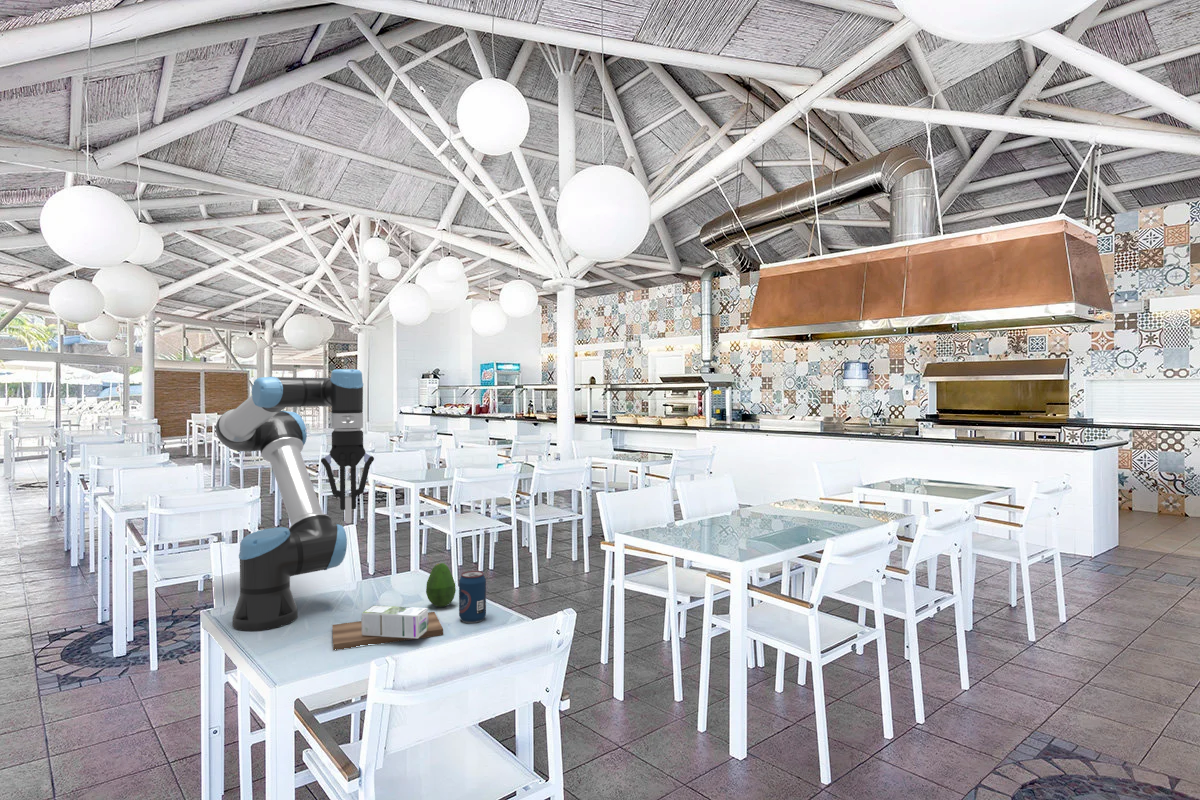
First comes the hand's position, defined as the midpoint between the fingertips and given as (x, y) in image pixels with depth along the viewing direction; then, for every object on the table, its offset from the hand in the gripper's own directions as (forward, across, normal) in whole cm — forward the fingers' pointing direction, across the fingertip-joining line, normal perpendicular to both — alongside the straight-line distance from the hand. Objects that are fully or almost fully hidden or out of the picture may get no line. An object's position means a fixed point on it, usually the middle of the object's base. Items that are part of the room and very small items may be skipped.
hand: (348, 522), depth 169 cm
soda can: (+27, +30, -8) cm, 41 cm away
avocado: (+27, +24, +6) cm, 36 cm away
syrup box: (+22, +4, -11) cm, 25 cm away
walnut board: (+26, +8, -10) cm, 29 cm away
